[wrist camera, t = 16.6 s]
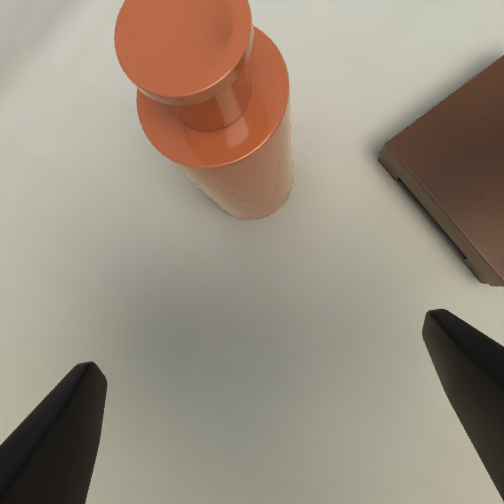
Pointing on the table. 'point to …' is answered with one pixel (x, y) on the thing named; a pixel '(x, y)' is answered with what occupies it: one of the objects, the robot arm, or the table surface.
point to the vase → (212, 98)
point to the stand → (460, 169)
